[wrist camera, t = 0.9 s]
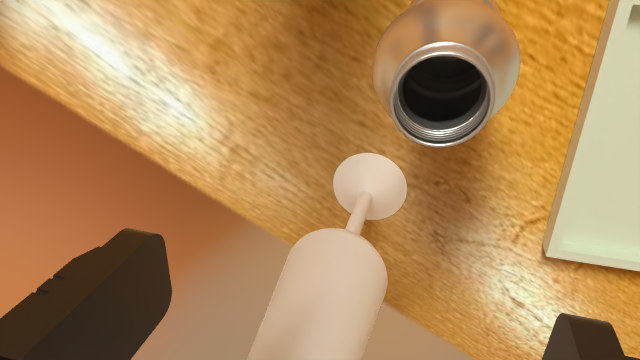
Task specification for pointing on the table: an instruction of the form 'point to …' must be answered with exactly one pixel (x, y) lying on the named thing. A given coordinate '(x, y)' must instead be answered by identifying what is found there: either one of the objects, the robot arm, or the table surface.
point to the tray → (604, 155)
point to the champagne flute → (334, 273)
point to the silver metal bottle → (445, 69)
